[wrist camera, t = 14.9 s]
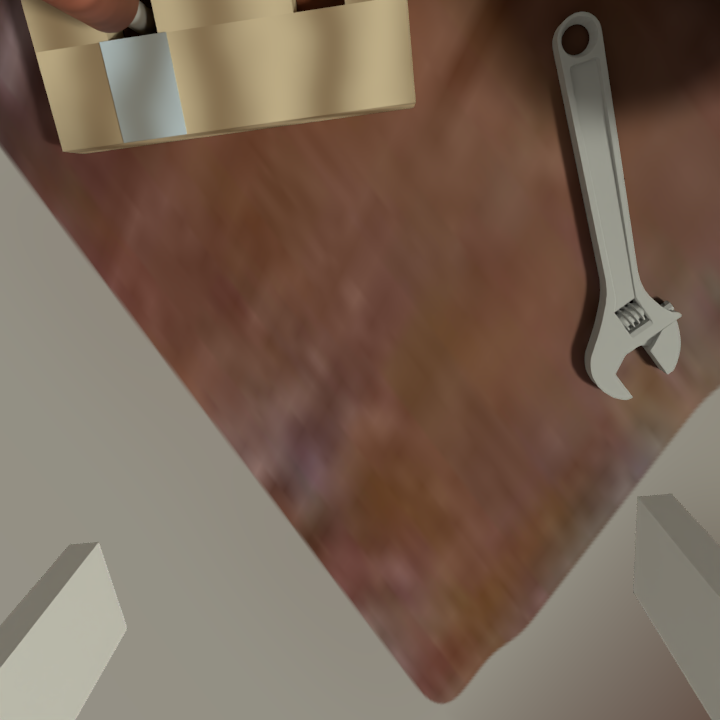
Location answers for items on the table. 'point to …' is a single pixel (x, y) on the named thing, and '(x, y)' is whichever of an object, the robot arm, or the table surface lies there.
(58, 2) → the awl
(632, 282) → the adjustable wrench
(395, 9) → the board
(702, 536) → the robot arm
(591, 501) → the table surface
